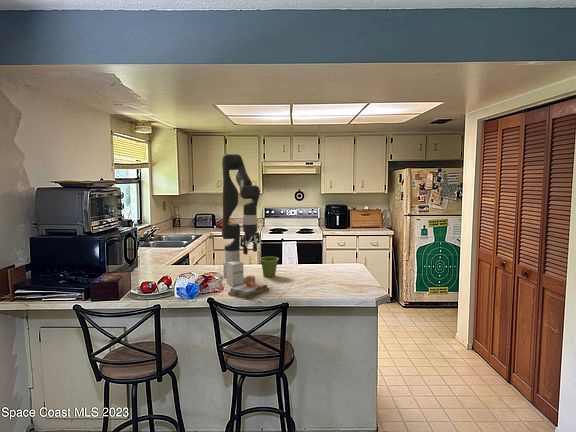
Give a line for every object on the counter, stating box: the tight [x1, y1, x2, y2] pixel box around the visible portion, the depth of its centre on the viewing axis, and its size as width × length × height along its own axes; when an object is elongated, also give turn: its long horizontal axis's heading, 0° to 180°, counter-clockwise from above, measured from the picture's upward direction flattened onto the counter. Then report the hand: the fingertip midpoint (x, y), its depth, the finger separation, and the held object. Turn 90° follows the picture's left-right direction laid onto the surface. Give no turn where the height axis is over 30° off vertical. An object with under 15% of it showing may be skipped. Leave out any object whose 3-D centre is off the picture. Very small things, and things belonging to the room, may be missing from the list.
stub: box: [240, 275, 260, 289], centre depth 216 cm, size 9×4×7 cm, turn 59°
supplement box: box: [226, 261, 244, 287], centre depth 232 cm, size 7×7×13 cm
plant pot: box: [259, 256, 280, 278], centre depth 249 cm, size 12×12×11 cm
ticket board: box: [227, 284, 270, 300], centre depth 216 cm, size 14×18×4 cm
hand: (250, 252), depth 215 cm, fingers open, 8 cm apart
